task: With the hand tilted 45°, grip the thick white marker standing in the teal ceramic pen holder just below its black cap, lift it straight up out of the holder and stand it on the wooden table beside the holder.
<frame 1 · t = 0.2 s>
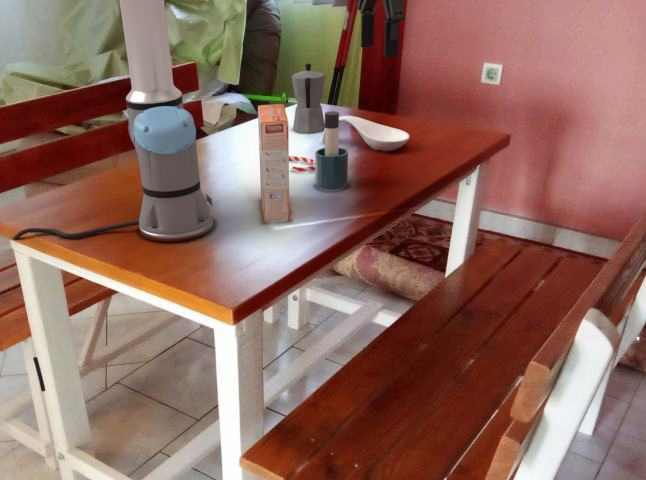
hand: (378, 51, 154), 28 cm above the table, tool pointing down, fingers open, 13 cm apart
cracker box: (275, 211, 154), on the table
pen holder: (331, 186, 165), on the table
candy cane: (293, 166, 180), on the table
marker: (331, 183, 165), point 1 cm above the table, touching pen holder
coffeepot: (308, 130, 206), on the table
spoon rest: (364, 146, 190), on the table
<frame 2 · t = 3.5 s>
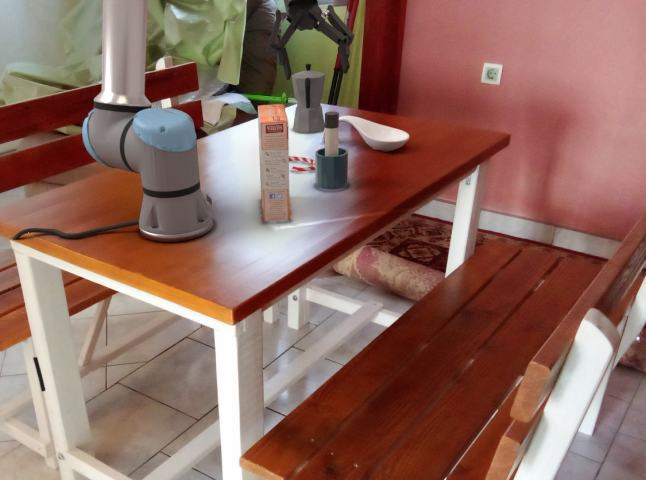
hand: (318, 73, 162), 23 cm above the table, tool tilted 45°, fingers open, 13 cm apart
nothing on the table moved.
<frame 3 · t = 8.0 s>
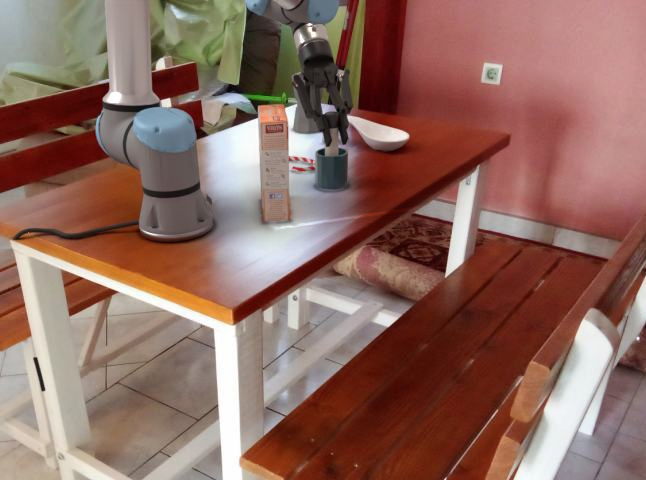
hand: (337, 142, 156), 11 cm above the table, tool tilted 45°, fingers closed on marker, 3 cm apart
marker: (331, 183, 165), point 1 cm above the table, touching gripper, pen holder
everything else where it was.
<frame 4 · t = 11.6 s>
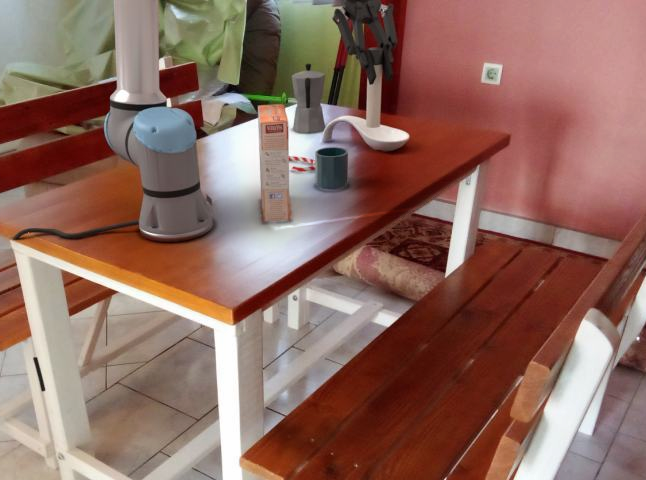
hand: (381, 79, 148), 24 cm above the table, tool tilted 45°, fingers closed on marker, 3 cm apart
marker: (373, 126, 157), point 13 cm above the table, touching gripper
everything else where it was.
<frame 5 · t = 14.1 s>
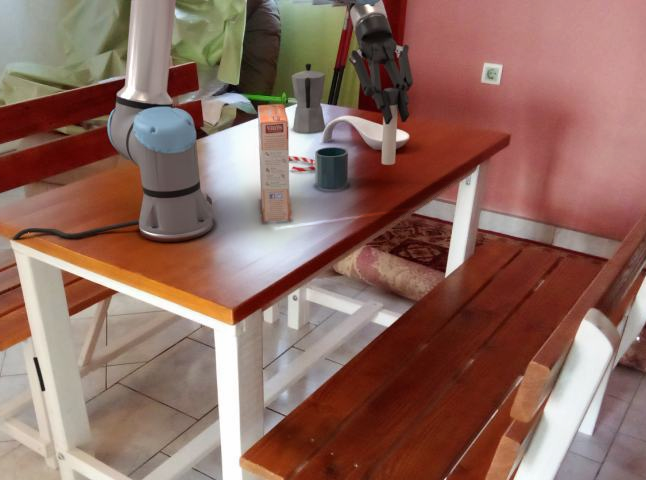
hand: (397, 119, 152), 16 cm above the table, tool tilted 45°, fingers closed on marker, 3 cm apart
marker: (388, 162, 161), point 5 cm above the table, touching gripper
everything else where it was.
when the fingers open (11 cm above the table, at t = 15.7 s): marker stays where it is, on the table.
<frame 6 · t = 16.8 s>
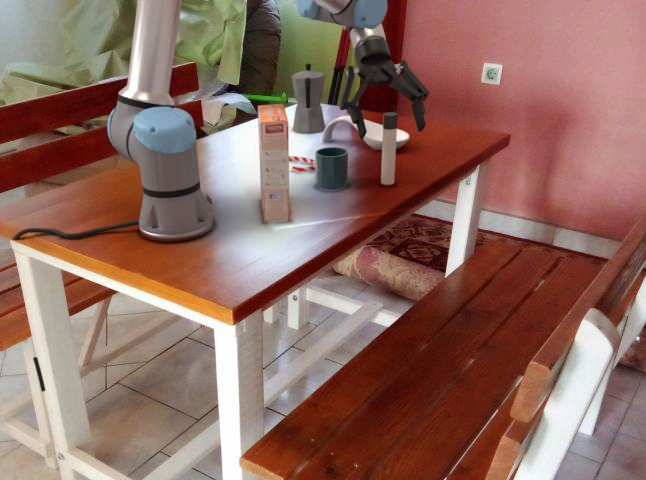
hand: (393, 132, 155), 13 cm above the table, tool tilted 45°, fingers open, 13 cm apart
marker: (387, 184, 164), on the table
everything else where it was.
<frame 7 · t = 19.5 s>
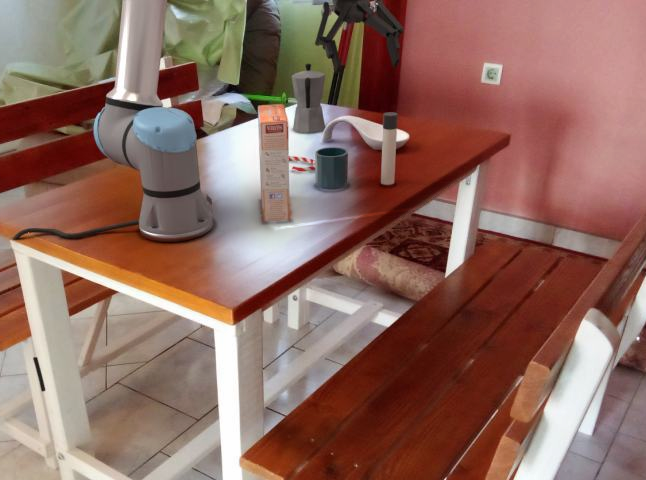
hand: (367, 66, 157), 25 cm above the table, tool tilted 45°, fingers open, 13 cm apart
nothing on the table moved.
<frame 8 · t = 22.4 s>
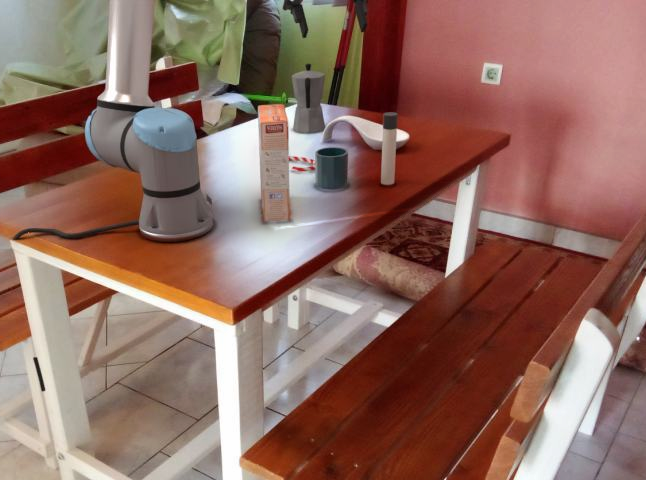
hand: (335, 31, 157), 32 cm above the table, tool tilted 45°, fingers open, 13 cm apart
nothing on the table moved.
at the end: marker inside the target area (0.1 cm from its centre), on the table; marker touching table; the gripper is holding nothing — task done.
